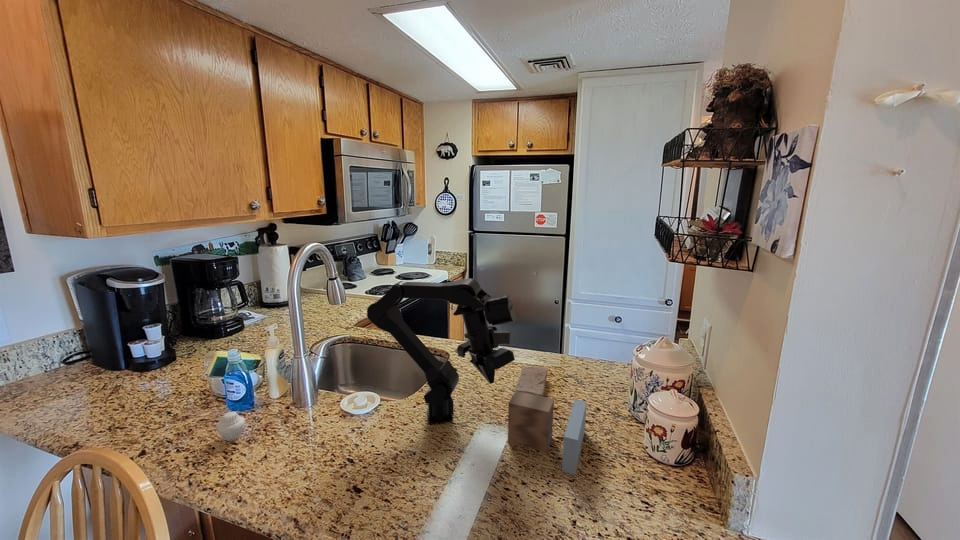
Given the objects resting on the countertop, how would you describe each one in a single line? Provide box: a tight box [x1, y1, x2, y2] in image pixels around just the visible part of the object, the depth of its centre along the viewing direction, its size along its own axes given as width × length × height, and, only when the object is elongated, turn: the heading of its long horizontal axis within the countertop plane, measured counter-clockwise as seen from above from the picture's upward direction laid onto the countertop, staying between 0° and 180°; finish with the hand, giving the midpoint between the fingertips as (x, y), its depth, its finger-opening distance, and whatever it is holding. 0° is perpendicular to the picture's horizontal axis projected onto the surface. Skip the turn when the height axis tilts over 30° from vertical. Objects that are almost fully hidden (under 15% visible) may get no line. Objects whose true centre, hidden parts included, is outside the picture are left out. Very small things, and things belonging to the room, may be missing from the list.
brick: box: [514, 365, 548, 397], centre depth 118 cm, size 17×8×5 cm, turn 165°
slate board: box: [561, 399, 588, 476], centre depth 91 cm, size 3×16×9 cm, turn 158°
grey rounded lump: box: [216, 411, 246, 442], centre depth 96 cm, size 6×6×7 cm
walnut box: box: [507, 390, 555, 453], centre depth 95 cm, size 10×6×11 cm, turn 68°
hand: (491, 382), depth 99 cm, fingers closed
